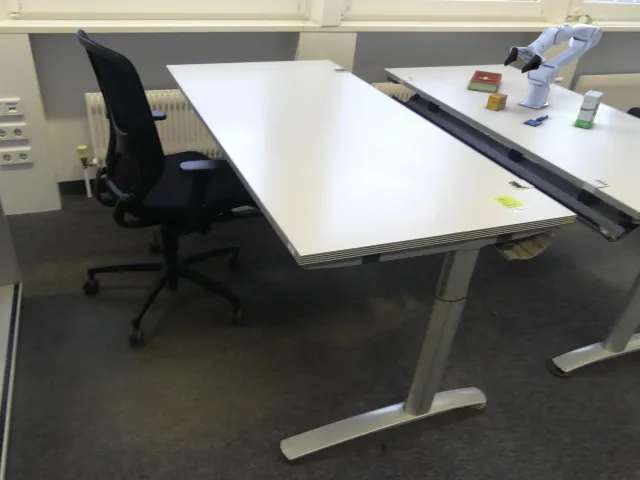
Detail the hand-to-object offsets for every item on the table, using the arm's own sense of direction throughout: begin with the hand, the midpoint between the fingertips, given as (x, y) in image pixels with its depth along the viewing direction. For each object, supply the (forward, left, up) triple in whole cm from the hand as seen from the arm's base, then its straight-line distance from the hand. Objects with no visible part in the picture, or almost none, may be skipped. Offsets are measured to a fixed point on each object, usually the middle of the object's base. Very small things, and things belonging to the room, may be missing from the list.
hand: (513, 67), depth 207 cm
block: (-4, -5, -17) cm, 19 cm away
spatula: (-1, +14, -17) cm, 22 cm away
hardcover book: (-31, -25, -18) cm, 44 cm away
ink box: (-12, +27, -18) cm, 34 cm away
